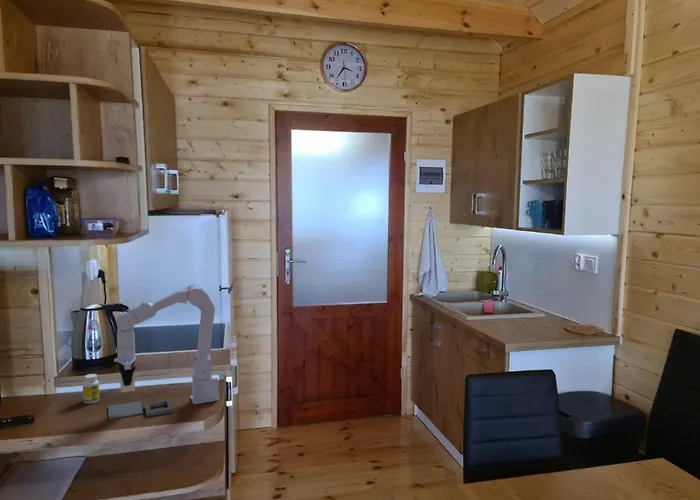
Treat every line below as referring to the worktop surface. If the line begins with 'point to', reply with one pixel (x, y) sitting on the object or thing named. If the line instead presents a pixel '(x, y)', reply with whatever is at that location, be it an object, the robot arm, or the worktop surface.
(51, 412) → the worktop surface
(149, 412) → the square socket
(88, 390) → the supplement bottle
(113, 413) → the rubber mat
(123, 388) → the square peg block
